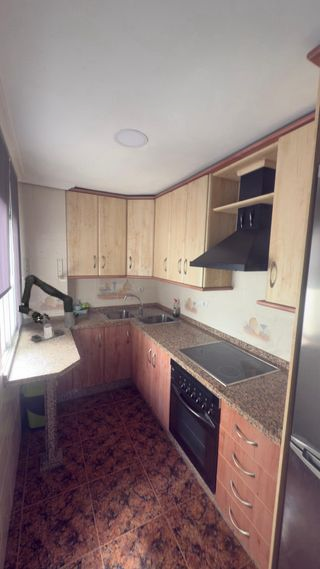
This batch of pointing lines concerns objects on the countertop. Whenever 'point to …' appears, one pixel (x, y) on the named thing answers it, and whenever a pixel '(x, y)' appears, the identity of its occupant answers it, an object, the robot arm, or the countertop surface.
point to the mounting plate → (41, 339)
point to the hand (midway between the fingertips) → (46, 321)
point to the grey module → (47, 330)
